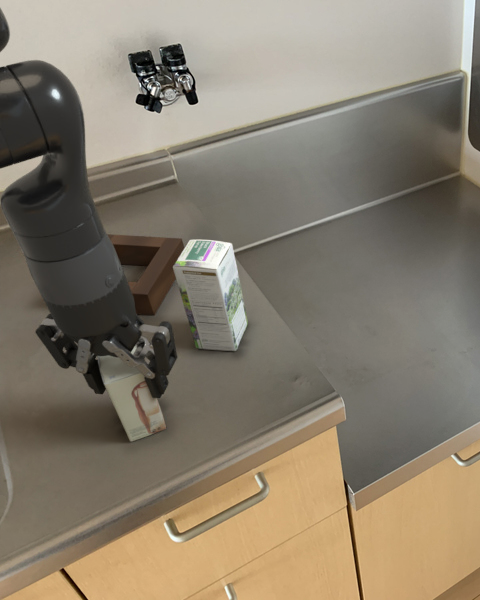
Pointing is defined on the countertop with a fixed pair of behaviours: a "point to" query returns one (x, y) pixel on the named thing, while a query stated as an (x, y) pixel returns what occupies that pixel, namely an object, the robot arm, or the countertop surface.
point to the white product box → (131, 398)
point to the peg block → (149, 267)
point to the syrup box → (211, 294)
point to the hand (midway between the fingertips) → (131, 390)
